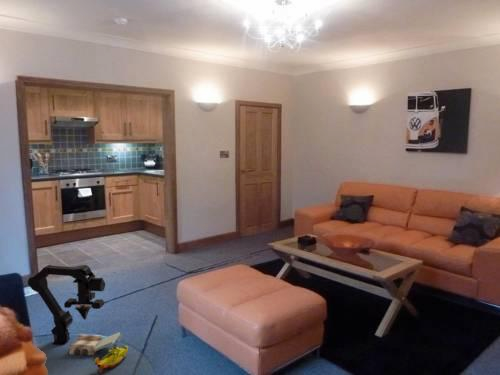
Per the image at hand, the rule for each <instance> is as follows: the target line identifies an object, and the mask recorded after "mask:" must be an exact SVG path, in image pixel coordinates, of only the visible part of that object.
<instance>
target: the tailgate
mask: <svg viewBox="0 0 500 375" xmlns="http://www.w3.org/2000/svg"><path fill="white" fill-rule="evenodd" d="M122 338H123V334H121V332H116V333H114V334H111V335H109V336H106V337H104V338H102V340H101V341H100V343H99V344H98V345H97V346H96V347H95V349H94V350H95V351H96V352H97V351H100V350H102V349H104V348H107V347H109V346H113V345H114V344H115V342H116V343H119V342H120V340H121V339H122Z"/></svg>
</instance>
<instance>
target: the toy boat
mask: <svg viewBox="0 0 500 375" xmlns="http://www.w3.org/2000/svg"><path fill="white" fill-rule="evenodd" d="M117 345H118V344H116V343H113V344H112V347H111V349H109V350H108V352H107V353H106V354H105V355H104V356H103V357H102V358H101V359H100V358H99V357H96V358H95V360H94V365H97V366H96V367H97V369H96V370H97V373H100V374H101V373H102V372H103V369H107V368H113V367H115V366H117V365H118V364H119V363H121V361H122V360H123V359H124V358H125V357H126V355H127V354H128V350H129V346H128V345H124V346H121V347H118V346H117Z"/></svg>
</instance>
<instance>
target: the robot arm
mask: <svg viewBox="0 0 500 375" xmlns="http://www.w3.org/2000/svg"><path fill="white" fill-rule="evenodd" d="M49 275H53V276H64V277H65V276H67V277H72V278H73V279H74V280H73V281H72V283H75V284H77V293H76V297H77V298H72V297H71V298H68V299H67V300H66V301H64V304H63V307H64V308H65V309H66V308H67V309H68V308H69V309H70V308H71V307H72V306H75V308H74V309H75V310H77V312H78V313H79V314H80V316H81V317H82V319H83V320H86V319H87V318H88V315H89V312H90V310H91V309H94V310H100V309H101V308H103V306H105V300H104V299H100V298H98V299H95V298H96V292H104V291H105V288H106V282H105V280H104V277H96V275H95V274H94V273H93V271H92V269H91V268H90V266H89V265H87V264H83V265H77V266H63V265H51V264H48V265H45V266H44V267H43V268H41V270H40V271H39V272H37V273H35V274H33V275H32V276H31V277H29V278H28V280H27V285H28V286H29V287H30V289H31V290H33V291H34V292H36V293H38V294H39V296H40V298H41V299H42V300H43V303H44V304H45V305H46V306H47V309H49V310H48V311H49V312H50V313H51V315H52V317H53V323H54V325H55V326H54V327H53V328H52V329H51V330H50V331H51V334H52V335H53V342H52V345H60V346H63V345H66V344H67V343H68V342H69V341H70V340H71V337H70V332H69V328H70V326H71V325H72V324H73V321H74V319H73V315H72V314H71V313H70V310H64V309H63V308H62V307H61V306H60V304H59V303H58V301H57V299H56V298H55V296H54V294H53V293H52V291H51V290H50V289H49V287H48V286H49V285H48V280H47V277H48V276H49ZM93 299H95V300H94V301H93Z"/></svg>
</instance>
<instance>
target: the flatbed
mask: <svg viewBox="0 0 500 375" xmlns="http://www.w3.org/2000/svg"><path fill="white" fill-rule="evenodd" d="M77 336H78V338H77V339H76V341H74V343H69V344H68V346H69V348H68V349H69V354H70V355H75V356H79V355H83V356H87V355H88V356H94V355H95V354H96V352H97V351H95V350H94V349H95V347H96V346H97V345H98V344H99V343H100V341H101V340H102V339H103V338H102V337H103V336H102V334H101V335H100V334H98V335H97V334H80V333H79V334H78V335H77Z"/></svg>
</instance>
